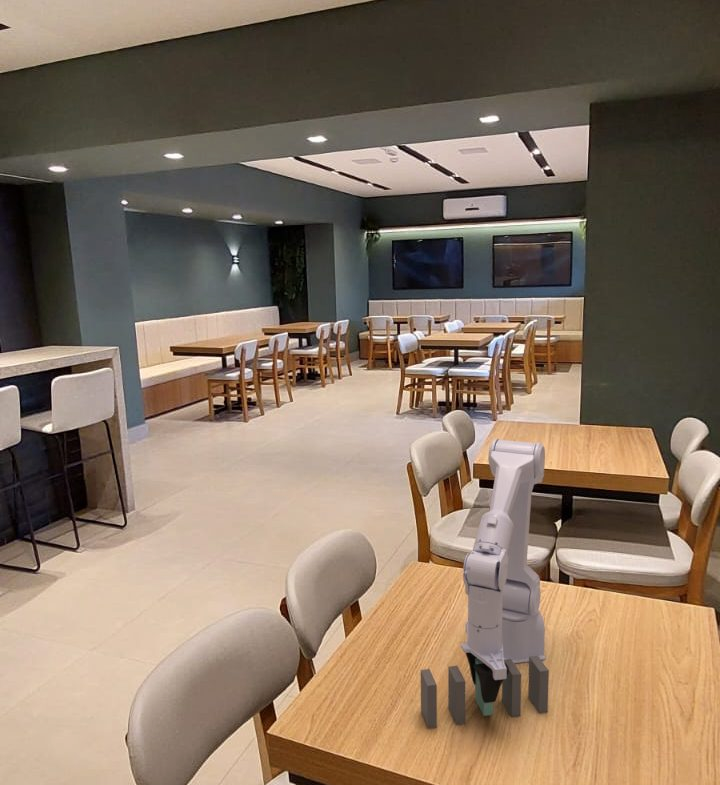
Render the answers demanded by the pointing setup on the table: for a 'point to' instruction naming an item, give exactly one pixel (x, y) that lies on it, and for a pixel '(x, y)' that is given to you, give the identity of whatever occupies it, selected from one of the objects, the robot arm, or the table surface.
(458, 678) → the domino
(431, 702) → the domino
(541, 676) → the domino
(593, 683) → the table surface
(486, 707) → the teal domino
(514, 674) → the domino
